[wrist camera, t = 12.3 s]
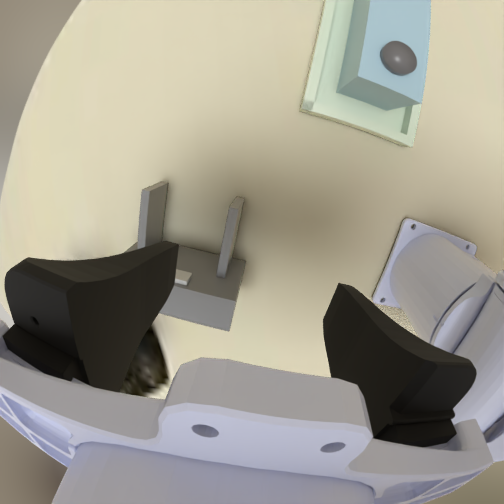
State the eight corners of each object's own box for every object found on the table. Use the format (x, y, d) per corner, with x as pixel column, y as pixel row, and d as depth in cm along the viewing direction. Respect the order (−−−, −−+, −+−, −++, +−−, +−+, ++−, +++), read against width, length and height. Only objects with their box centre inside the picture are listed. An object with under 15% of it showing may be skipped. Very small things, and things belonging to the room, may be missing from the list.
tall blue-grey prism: (400, 19, 13) (435, -10, 7) (386, 110, 16) (427, 102, 11) (354, 0, 13) (377, -38, 7) (336, 92, 16) (361, 73, 11)
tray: (422, 6, 12) (430, 0, 10) (402, 146, 18) (412, 147, 16) (330, -30, 12) (334, -40, 10) (299, 111, 18) (301, 108, 16)
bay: (259, 201, 20) (253, 225, 15) (239, 287, 23) (229, 331, 18) (148, 179, 20) (108, 194, 15) (142, 262, 23) (109, 296, 18)
